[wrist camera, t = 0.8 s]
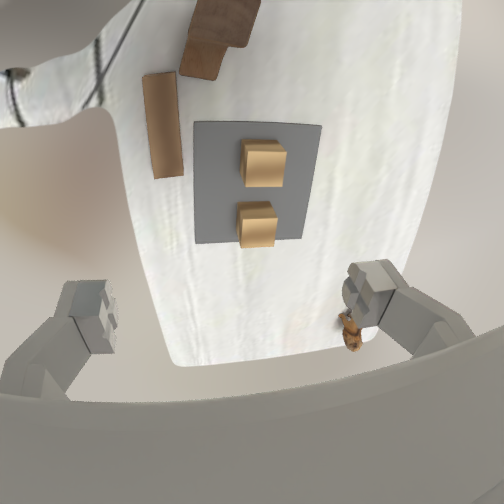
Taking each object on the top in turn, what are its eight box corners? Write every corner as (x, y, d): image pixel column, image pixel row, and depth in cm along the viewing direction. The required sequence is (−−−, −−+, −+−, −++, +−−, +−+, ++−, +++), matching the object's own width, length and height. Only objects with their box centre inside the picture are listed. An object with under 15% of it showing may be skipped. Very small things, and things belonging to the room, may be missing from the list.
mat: (194, 121, 39) (194, 122, 39) (320, 125, 43) (321, 126, 42) (195, 242, 52) (195, 244, 51) (300, 237, 55) (301, 238, 55)
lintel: (156, 170, 43) (154, 179, 41) (145, 75, 34) (142, 77, 32) (183, 166, 43) (183, 175, 41) (175, 70, 35) (174, 73, 32)
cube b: (237, 201, 48) (242, 219, 44) (269, 201, 49) (277, 218, 45) (235, 229, 51) (240, 248, 47) (266, 227, 52) (273, 246, 48)
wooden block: (213, 77, 36) (231, 103, 22) (179, 71, 35) (172, 93, 21) (231, 15, 31) (263, -3, 17) (196, 8, 30) (203, -17, 16)
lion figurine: (348, 325, 76) (362, 353, 69) (330, 325, 74) (343, 355, 67) (376, 282, 67) (394, 311, 60) (358, 281, 66) (375, 312, 59)
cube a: (241, 139, 42) (248, 151, 38) (276, 139, 43) (286, 152, 39) (239, 171, 45) (245, 187, 41) (273, 171, 46) (282, 186, 42)
